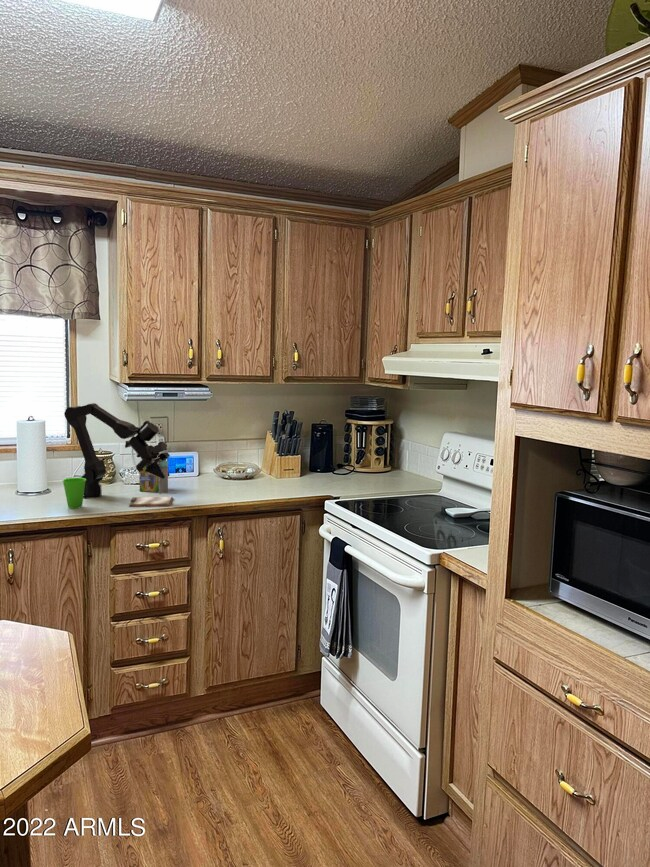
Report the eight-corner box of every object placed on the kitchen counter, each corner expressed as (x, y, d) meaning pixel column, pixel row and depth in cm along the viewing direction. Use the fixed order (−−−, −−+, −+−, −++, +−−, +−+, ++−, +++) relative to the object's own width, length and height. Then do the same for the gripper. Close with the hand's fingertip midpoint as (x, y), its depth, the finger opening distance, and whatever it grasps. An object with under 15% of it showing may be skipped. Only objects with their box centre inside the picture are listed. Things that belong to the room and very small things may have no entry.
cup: (91, 507, 262) (90, 480, 261) (69, 510, 255) (69, 483, 254) (80, 503, 268) (79, 476, 266) (58, 506, 261) (57, 479, 260)
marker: (159, 493, 268) (159, 462, 267) (157, 491, 272) (157, 460, 270) (169, 493, 270) (169, 461, 268) (167, 491, 273) (166, 460, 272)
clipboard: (129, 506, 264) (129, 502, 264) (133, 499, 277) (133, 494, 277) (170, 506, 267) (169, 501, 266) (172, 498, 279) (172, 494, 279)
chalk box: (158, 492, 290) (157, 459, 288) (138, 491, 291) (138, 458, 289) (167, 488, 299) (166, 456, 297) (148, 487, 300) (148, 455, 298)
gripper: (142, 438, 260) (168, 468, 259) (165, 433, 278) (189, 460, 276) (125, 457, 263) (150, 486, 262) (149, 450, 281) (172, 477, 279)
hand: (166, 477), depth 270 cm, fingers closed on marker, 4 cm apart
